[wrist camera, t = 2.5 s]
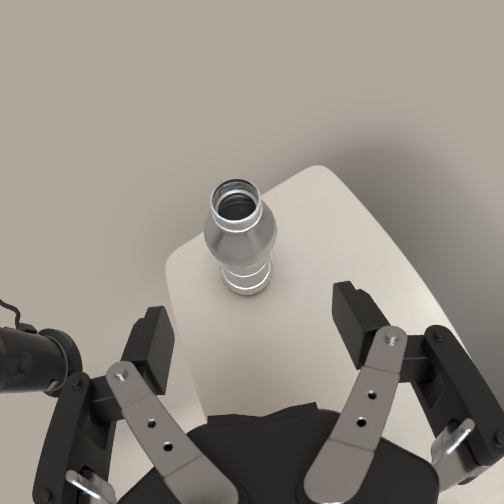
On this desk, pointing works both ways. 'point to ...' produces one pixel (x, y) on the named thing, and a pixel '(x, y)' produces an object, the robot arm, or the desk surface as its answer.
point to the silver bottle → (241, 235)
